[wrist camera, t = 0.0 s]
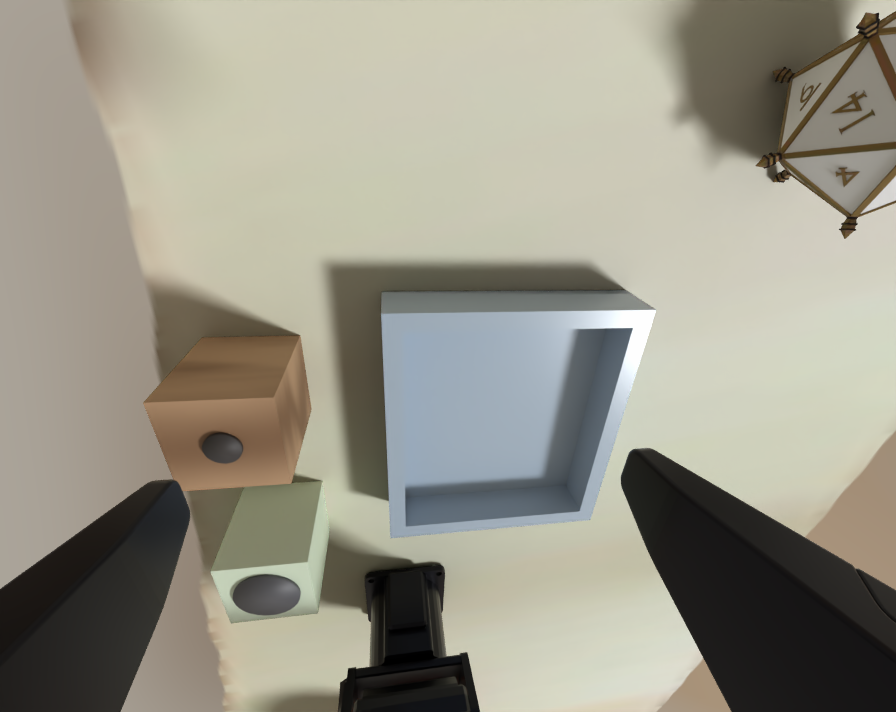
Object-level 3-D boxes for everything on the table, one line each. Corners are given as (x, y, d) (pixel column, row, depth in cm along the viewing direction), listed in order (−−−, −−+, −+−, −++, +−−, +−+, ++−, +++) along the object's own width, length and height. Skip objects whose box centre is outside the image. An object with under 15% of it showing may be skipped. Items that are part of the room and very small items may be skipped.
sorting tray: (572, 487, 31) (590, 519, 28) (390, 501, 29) (390, 538, 26) (625, 290, 23) (656, 309, 21) (381, 291, 21) (381, 313, 19)
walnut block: (311, 409, 24) (290, 486, 19) (223, 412, 24) (176, 495, 18) (300, 335, 22) (272, 400, 17) (202, 337, 21) (140, 405, 16)
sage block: (329, 529, 30) (317, 616, 24) (258, 535, 29) (229, 626, 24) (322, 480, 27) (306, 565, 22) (244, 485, 27) (208, 575, 21)
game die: (714, 147, 24) (710, 218, 17) (842, -58, 17) (909, -63, 11) (880, 199, 22) (943, 300, 16) (1090, -6, 16) (1342, 22, 9)
